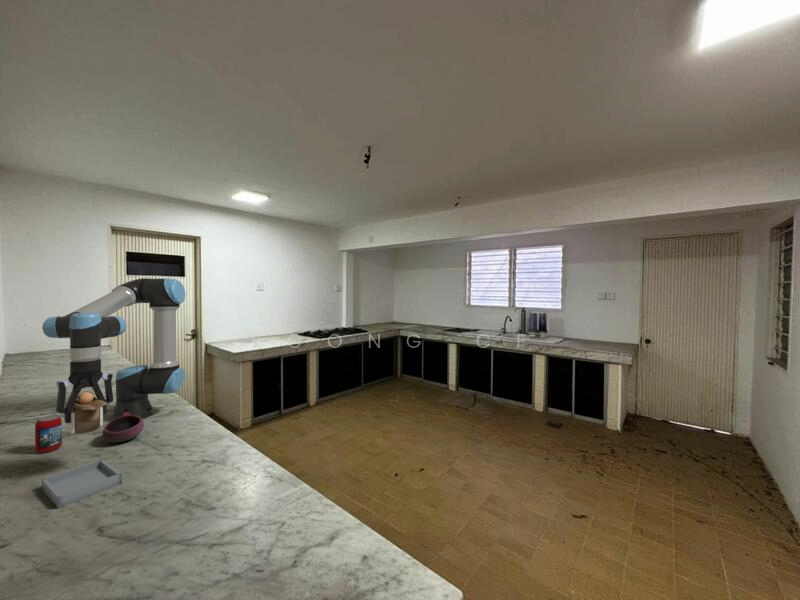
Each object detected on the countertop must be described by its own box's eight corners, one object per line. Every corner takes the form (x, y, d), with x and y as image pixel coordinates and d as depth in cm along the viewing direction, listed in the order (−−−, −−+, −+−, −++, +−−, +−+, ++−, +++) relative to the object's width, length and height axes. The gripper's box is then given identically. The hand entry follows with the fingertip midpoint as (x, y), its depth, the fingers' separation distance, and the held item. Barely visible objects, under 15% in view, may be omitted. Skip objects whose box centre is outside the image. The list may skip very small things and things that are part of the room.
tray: (102, 468, 110) (102, 459, 110) (121, 483, 102) (121, 473, 102) (41, 489, 99) (41, 479, 99) (58, 508, 90) (58, 497, 90)
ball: (91, 401, 113) (91, 389, 113) (96, 402, 111) (95, 390, 111) (76, 405, 110) (75, 392, 110) (80, 405, 108) (79, 393, 108)
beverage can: (44, 455, 118) (44, 422, 118) (30, 453, 120) (29, 420, 119) (67, 446, 125) (66, 415, 125) (53, 444, 126) (52, 413, 126)
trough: (95, 424, 115) (95, 396, 114) (107, 431, 109) (107, 401, 109) (69, 430, 109) (69, 401, 109) (81, 438, 104) (81, 407, 104)
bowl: (150, 437, 134) (150, 417, 134) (111, 450, 122) (111, 429, 122) (130, 428, 141) (130, 410, 141) (91, 440, 130) (91, 420, 130)
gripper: (117, 353, 120) (117, 416, 120) (40, 363, 103) (41, 436, 104) (126, 356, 116) (126, 421, 117) (47, 366, 100) (48, 442, 100)
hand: (86, 428), depth 110 cm, fingers closed on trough, 6 cm apart
